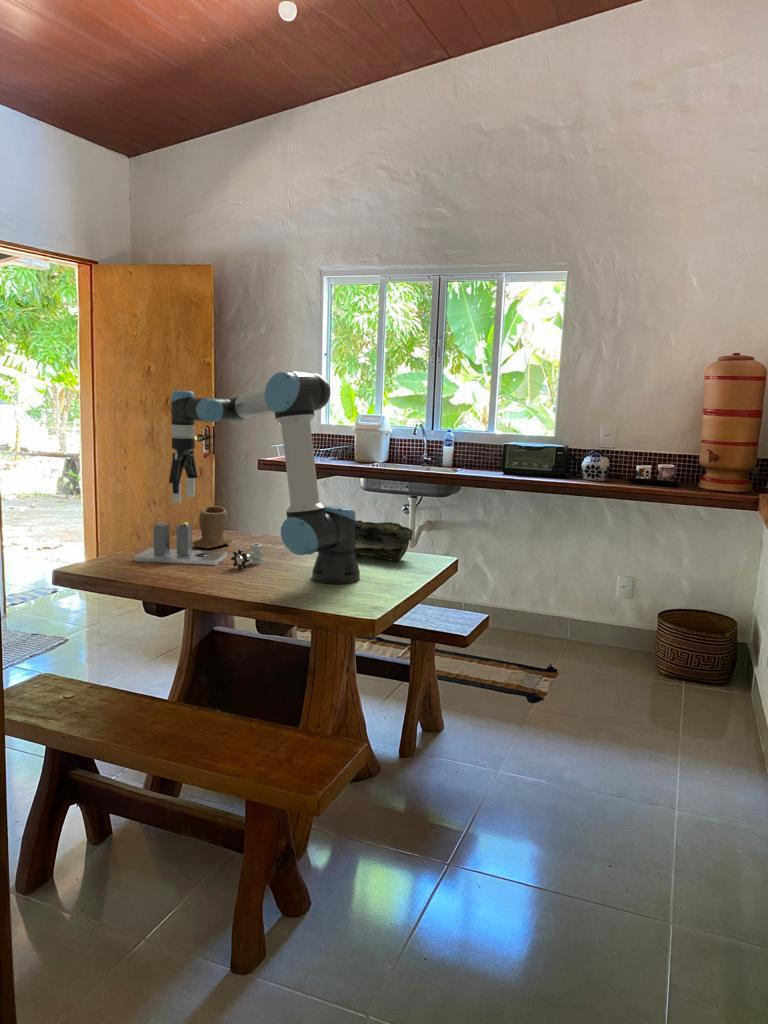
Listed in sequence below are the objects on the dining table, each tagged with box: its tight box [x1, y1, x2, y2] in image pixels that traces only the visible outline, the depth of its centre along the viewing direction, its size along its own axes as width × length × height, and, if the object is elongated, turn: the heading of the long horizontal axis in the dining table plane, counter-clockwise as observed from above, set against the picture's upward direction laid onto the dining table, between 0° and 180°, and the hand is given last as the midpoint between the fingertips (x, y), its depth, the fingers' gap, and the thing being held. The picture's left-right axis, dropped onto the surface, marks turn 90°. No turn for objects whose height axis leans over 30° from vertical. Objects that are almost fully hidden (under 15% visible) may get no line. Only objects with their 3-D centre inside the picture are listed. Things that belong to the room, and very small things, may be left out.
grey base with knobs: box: [133, 523, 228, 566], centre depth 260 cm, size 14×28×12 cm, turn 85°
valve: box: [230, 542, 264, 570], centre depth 253 cm, size 7×7×12 cm
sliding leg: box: [175, 521, 193, 555], centre depth 259 cm, size 4×4×11 cm
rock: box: [355, 520, 413, 563], centre depth 270 cm, size 28×13×15 cm
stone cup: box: [192, 505, 233, 549], centre depth 280 cm, size 15×12×15 cm
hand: (183, 499), depth 257 cm, fingers open, 13 cm apart
